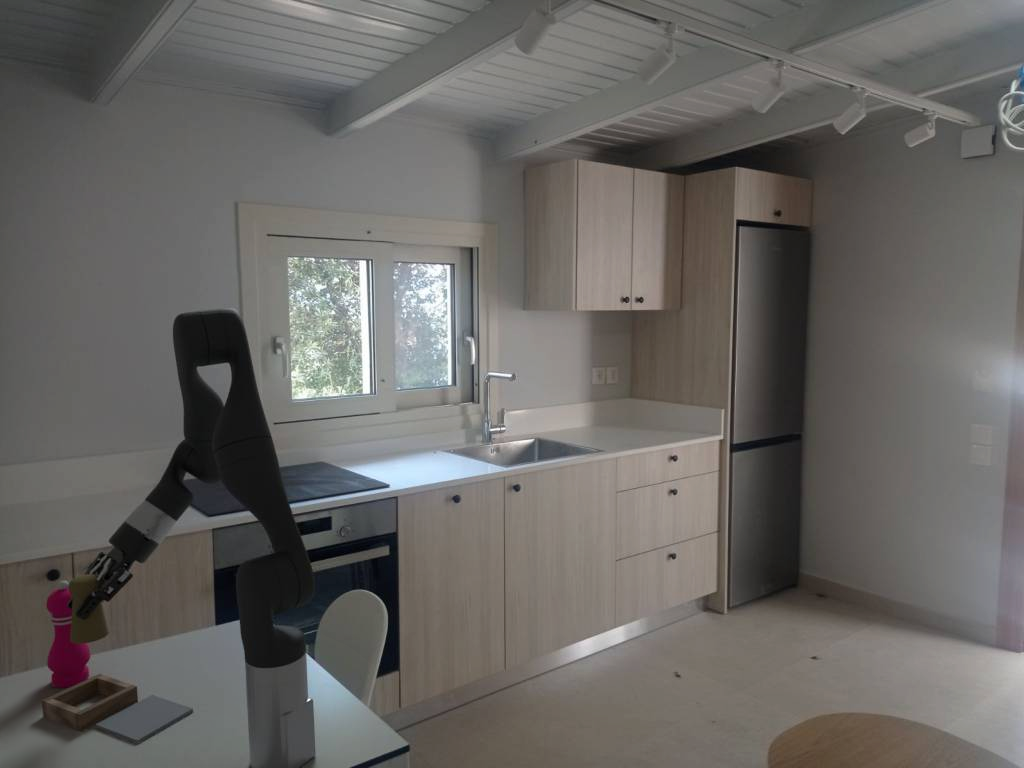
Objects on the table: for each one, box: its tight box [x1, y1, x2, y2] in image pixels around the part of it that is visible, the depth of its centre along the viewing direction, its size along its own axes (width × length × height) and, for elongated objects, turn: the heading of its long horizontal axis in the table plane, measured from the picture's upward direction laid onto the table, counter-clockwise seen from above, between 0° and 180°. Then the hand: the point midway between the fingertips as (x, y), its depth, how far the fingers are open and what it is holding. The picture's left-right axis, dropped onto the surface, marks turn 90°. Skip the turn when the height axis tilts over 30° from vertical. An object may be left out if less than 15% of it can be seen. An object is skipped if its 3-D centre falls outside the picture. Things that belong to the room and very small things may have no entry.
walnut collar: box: [41, 673, 139, 732], centre depth 135 cm, size 11×11×3 cm
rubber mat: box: [95, 694, 194, 745], centre depth 132 cm, size 11×11×1 cm
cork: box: [68, 574, 110, 644], centre depth 133 cm, size 6×6×11 cm
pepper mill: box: [45, 580, 91, 689], centre depth 145 cm, size 7×7×20 cm
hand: (75, 612), depth 132 cm, fingers closed on cork, 5 cm apart
